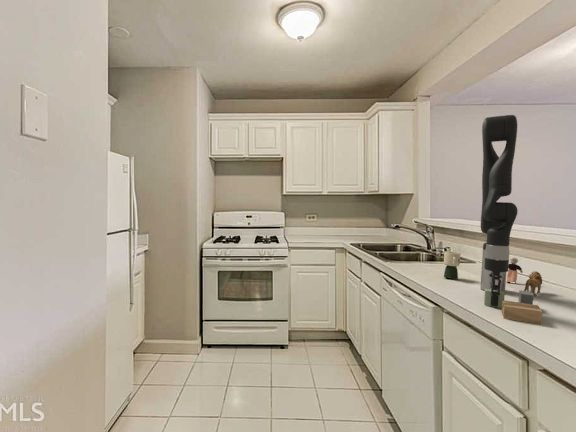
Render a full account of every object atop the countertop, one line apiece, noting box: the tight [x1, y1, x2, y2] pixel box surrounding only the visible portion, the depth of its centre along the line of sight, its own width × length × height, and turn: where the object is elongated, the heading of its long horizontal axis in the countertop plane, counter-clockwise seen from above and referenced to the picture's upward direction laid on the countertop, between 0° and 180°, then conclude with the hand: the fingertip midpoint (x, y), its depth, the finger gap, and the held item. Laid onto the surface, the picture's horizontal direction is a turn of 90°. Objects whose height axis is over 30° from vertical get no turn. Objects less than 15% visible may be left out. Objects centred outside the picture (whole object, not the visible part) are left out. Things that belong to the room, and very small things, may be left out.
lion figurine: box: [523, 270, 543, 297], centre depth 146 cm, size 15×5×9 cm, turn 138°
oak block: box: [501, 299, 543, 325], centre depth 114 cm, size 8×10×4 cm
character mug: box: [443, 250, 461, 280], centre depth 171 cm, size 11×7×13 cm, turn 169°
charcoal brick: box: [518, 289, 534, 305], centre depth 126 cm, size 6×4×6 cm, turn 152°
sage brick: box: [483, 289, 506, 309], centre depth 127 cm, size 6×4×6 cm, turn 63°
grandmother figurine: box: [506, 256, 524, 283], centre depth 166 cm, size 8×4×13 cm, turn 76°
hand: (493, 303), depth 127 cm, fingers open, 4 cm apart
